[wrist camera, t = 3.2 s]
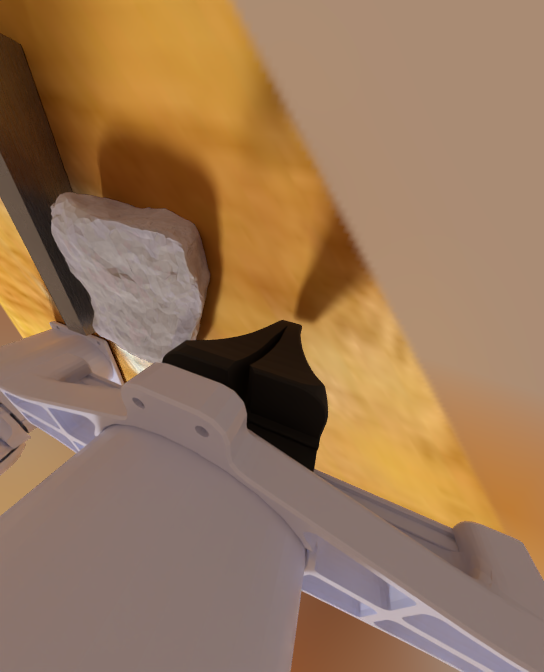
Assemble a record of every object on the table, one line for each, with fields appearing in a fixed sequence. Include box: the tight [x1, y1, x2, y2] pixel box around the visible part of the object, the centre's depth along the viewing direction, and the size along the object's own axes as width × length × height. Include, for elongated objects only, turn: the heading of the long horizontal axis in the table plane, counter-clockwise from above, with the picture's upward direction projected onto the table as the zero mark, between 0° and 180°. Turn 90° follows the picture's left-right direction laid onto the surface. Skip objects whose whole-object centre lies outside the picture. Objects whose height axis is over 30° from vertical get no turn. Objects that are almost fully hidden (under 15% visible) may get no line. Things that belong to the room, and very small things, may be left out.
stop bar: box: [0, 33, 96, 336], centre depth 15 cm, size 2×18×3 cm, turn 175°
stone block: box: [51, 192, 210, 363], centre depth 15 cm, size 12×5×10 cm
